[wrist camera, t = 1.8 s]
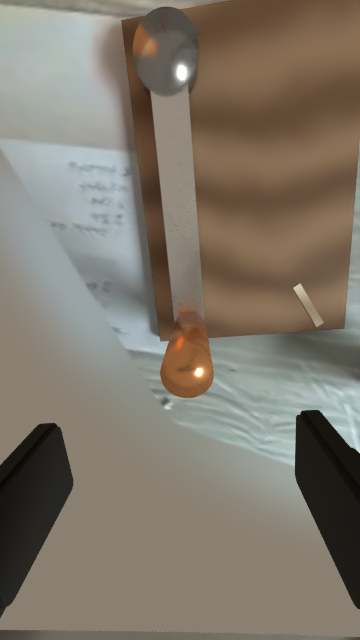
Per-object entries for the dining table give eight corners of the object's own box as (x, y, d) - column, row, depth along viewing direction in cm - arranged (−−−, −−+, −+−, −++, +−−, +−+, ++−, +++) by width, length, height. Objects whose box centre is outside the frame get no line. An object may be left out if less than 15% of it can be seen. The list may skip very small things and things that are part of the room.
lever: (134, 36, 20) (56, -250, 9) (195, 26, 19) (197, -288, 8) (168, 338, 26) (149, 399, 15) (214, 335, 26) (230, 396, 15)
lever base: (125, 33, 21) (120, 19, 20) (362, -9, 19) (373, -27, 18) (161, 337, 28) (160, 341, 27) (337, 325, 26) (344, 328, 25)
